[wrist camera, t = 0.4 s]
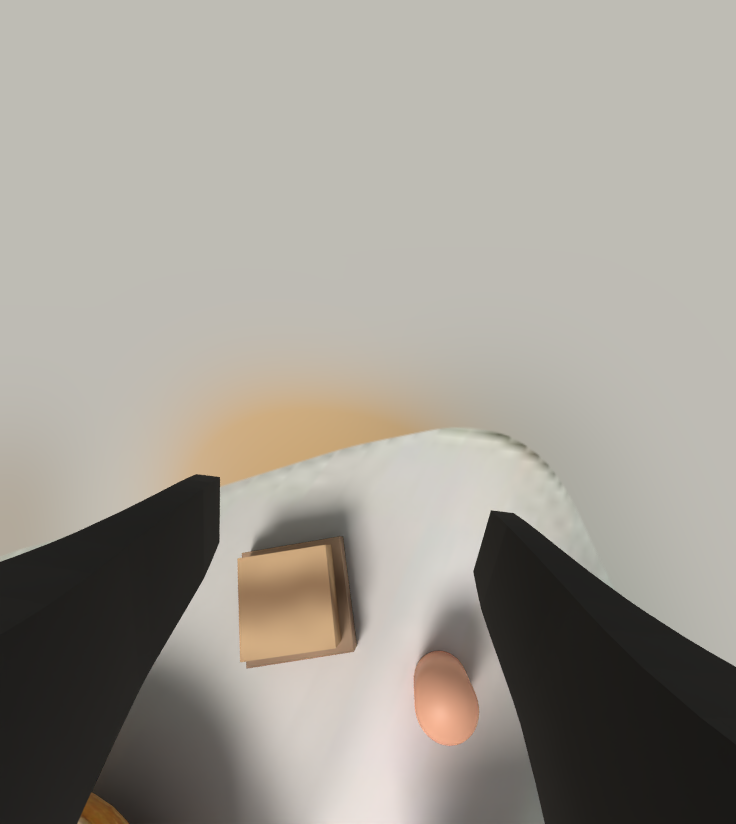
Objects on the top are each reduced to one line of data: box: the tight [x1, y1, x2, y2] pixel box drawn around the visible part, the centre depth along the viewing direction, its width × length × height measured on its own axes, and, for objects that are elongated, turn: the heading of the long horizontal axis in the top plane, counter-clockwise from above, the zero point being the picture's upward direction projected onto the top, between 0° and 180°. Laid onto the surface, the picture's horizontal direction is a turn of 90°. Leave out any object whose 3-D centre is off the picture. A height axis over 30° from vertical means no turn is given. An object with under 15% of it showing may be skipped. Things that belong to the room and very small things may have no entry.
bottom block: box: [242, 536, 357, 668], centre depth 33 cm, size 9×9×2 cm
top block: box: [238, 545, 341, 662], centre depth 31 cm, size 8×8×2 cm
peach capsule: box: [414, 651, 479, 746], centre depth 29 cm, size 4×4×5 cm
